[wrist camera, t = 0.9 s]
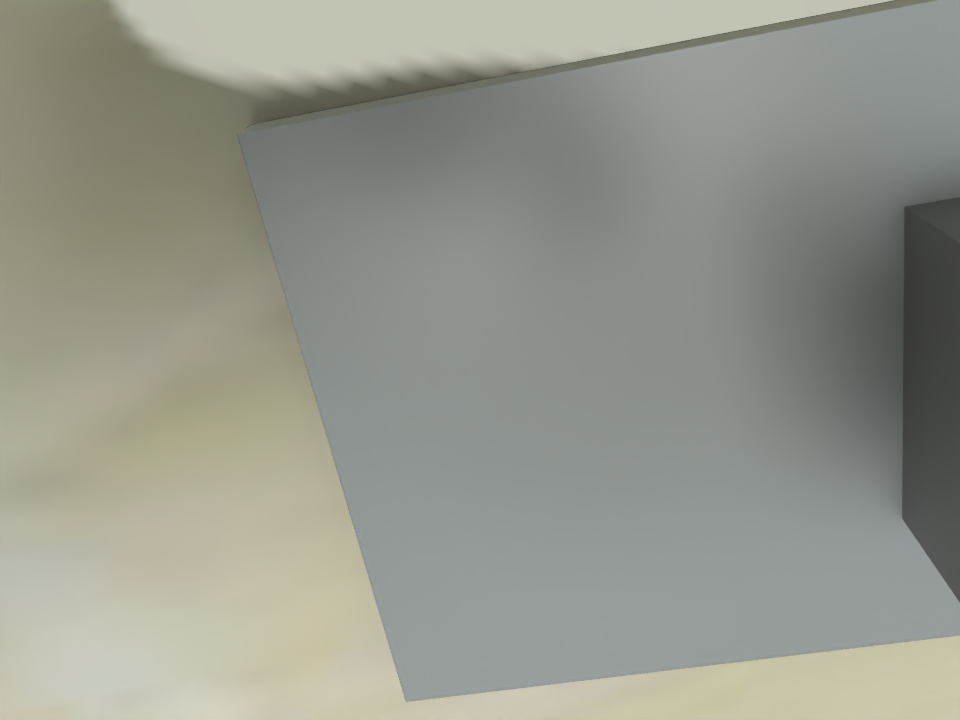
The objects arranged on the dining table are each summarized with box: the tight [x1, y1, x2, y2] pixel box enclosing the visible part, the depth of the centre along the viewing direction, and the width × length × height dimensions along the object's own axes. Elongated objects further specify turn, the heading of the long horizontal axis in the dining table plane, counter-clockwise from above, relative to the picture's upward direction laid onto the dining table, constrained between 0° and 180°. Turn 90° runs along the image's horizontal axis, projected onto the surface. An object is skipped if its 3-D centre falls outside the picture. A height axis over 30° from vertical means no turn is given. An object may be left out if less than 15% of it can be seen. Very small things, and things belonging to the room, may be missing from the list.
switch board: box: [237, 0, 960, 702], centre depth 20 cm, size 21×16×5 cm
